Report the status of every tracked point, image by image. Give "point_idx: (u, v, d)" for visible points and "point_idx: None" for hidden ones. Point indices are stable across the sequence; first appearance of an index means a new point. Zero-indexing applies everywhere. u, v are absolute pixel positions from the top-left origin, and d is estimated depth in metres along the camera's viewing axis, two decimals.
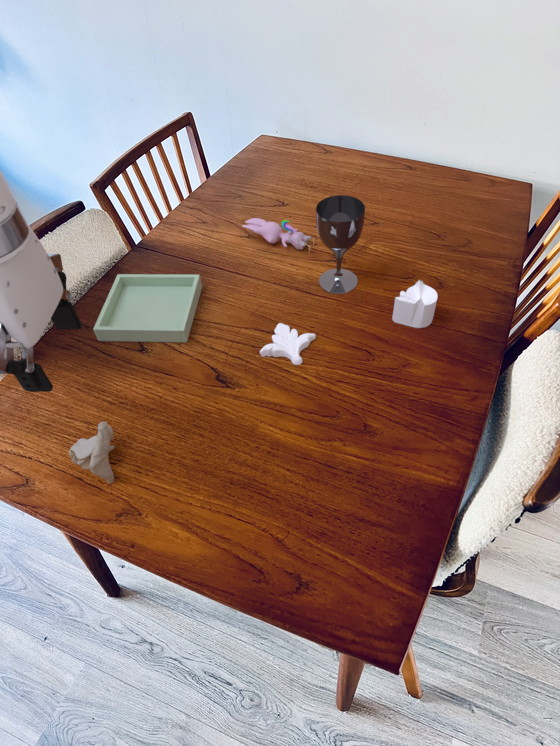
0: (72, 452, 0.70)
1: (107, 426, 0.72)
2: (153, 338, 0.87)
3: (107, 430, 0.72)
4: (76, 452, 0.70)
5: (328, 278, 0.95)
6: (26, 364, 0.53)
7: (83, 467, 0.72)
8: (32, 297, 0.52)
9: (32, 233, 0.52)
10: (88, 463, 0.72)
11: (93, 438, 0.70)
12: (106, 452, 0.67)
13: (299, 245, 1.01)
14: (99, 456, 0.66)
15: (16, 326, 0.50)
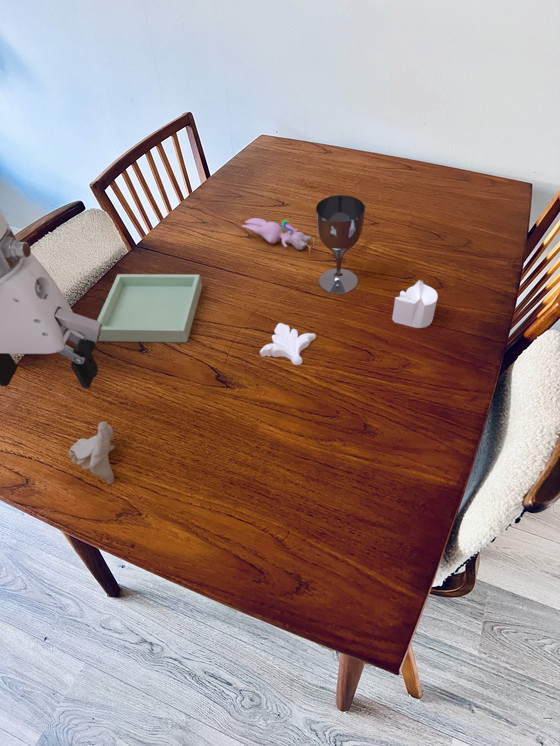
0: (72, 452, 0.70)
1: (107, 426, 0.72)
2: (153, 338, 0.87)
3: (107, 430, 0.72)
4: (76, 452, 0.70)
5: (328, 278, 0.95)
6: None
7: (83, 467, 0.72)
8: None
9: (15, 293, 0.47)
10: (88, 463, 0.72)
11: (93, 438, 0.70)
12: (106, 452, 0.67)
13: (299, 245, 1.01)
14: (99, 456, 0.66)
15: None
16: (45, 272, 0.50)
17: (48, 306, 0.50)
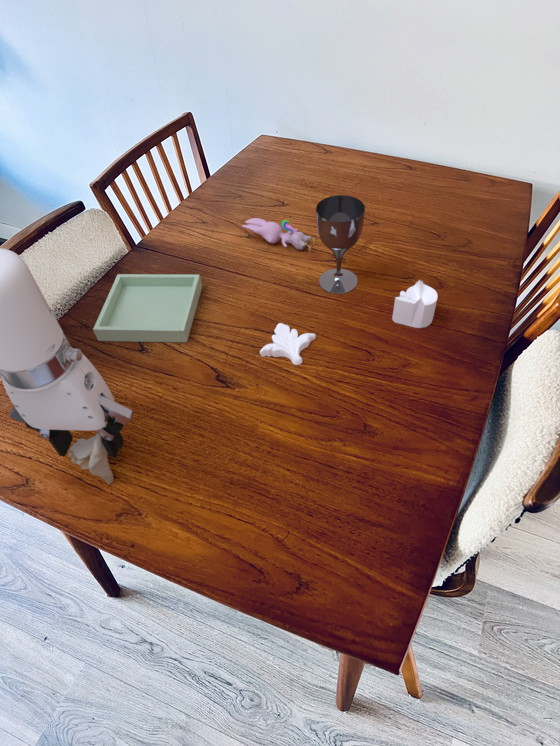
0: (71, 452, 0.70)
1: None
2: (153, 338, 0.87)
3: None
4: (75, 452, 0.70)
5: (328, 278, 0.95)
6: (41, 432, 0.65)
7: (83, 467, 0.72)
8: (39, 411, 0.60)
9: (69, 388, 0.56)
10: (88, 463, 0.72)
11: (92, 438, 0.70)
12: (105, 452, 0.67)
13: (299, 245, 1.01)
14: (98, 456, 0.66)
15: (17, 410, 0.61)
16: (91, 366, 0.59)
17: (94, 395, 0.59)
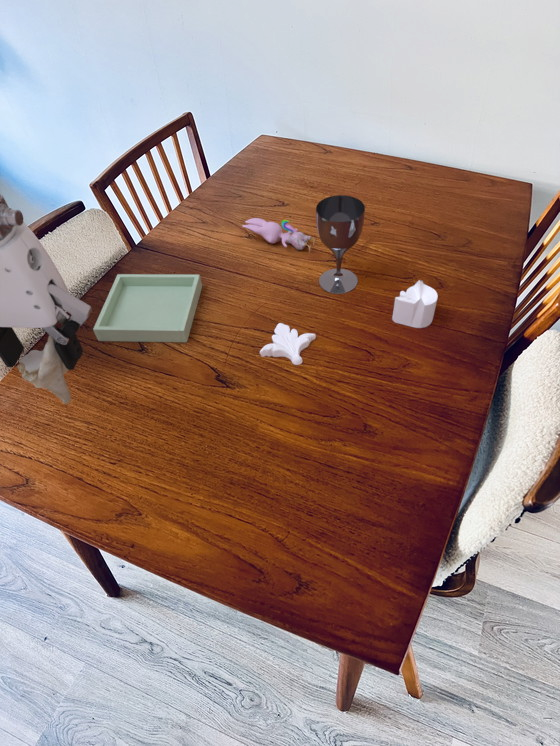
0: (22, 365, 0.60)
1: None
2: (153, 338, 0.87)
3: None
4: (26, 364, 0.59)
5: (328, 278, 0.95)
6: None
7: (36, 385, 0.62)
8: None
9: (6, 262, 0.46)
10: None
11: None
12: (59, 361, 0.56)
13: (299, 245, 1.01)
14: (49, 364, 0.55)
15: None
16: (38, 242, 0.48)
17: (41, 278, 0.49)
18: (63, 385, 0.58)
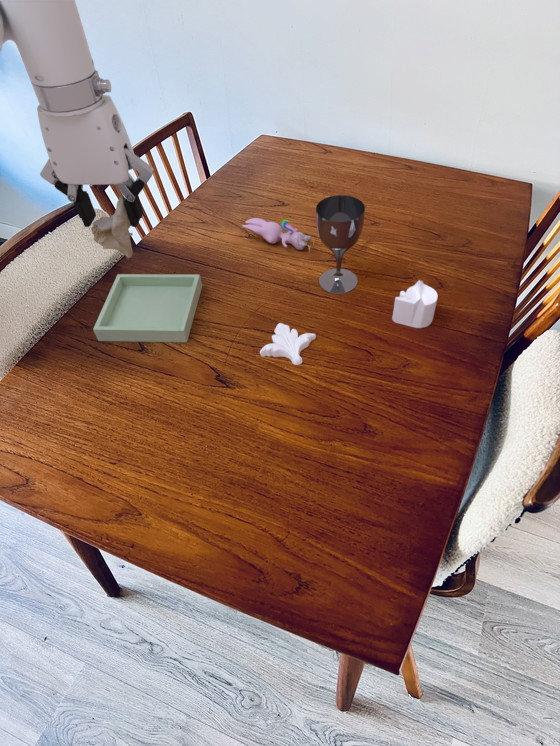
0: (94, 227, 0.77)
1: None
2: (153, 338, 0.87)
3: None
4: (98, 225, 0.76)
5: (328, 278, 0.95)
6: (69, 193, 0.72)
7: (104, 247, 0.78)
8: (70, 155, 0.66)
9: (98, 121, 0.63)
10: (109, 242, 0.78)
11: (114, 215, 0.77)
12: (126, 218, 0.73)
13: (299, 245, 1.01)
14: (120, 217, 0.72)
15: (49, 159, 0.67)
16: None
17: (120, 139, 0.66)
18: (128, 239, 0.75)
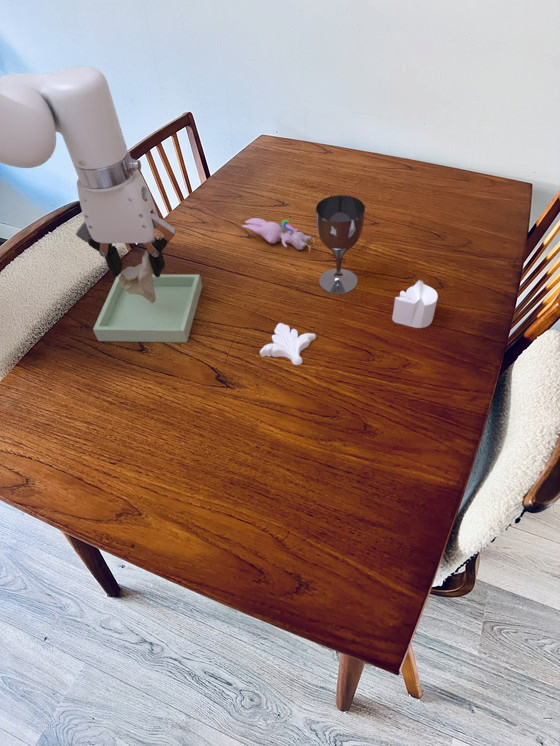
0: (122, 276, 0.87)
1: None
2: (153, 338, 0.87)
3: None
4: (125, 275, 0.86)
5: (328, 278, 0.95)
6: (100, 250, 0.82)
7: (130, 292, 0.89)
8: (104, 220, 0.76)
9: (130, 194, 0.73)
10: (134, 288, 0.88)
11: (139, 265, 0.87)
12: (151, 269, 0.83)
13: (299, 245, 1.01)
14: (146, 270, 0.82)
15: (85, 223, 0.77)
16: (145, 184, 0.75)
17: (147, 207, 0.76)
18: (152, 287, 0.85)
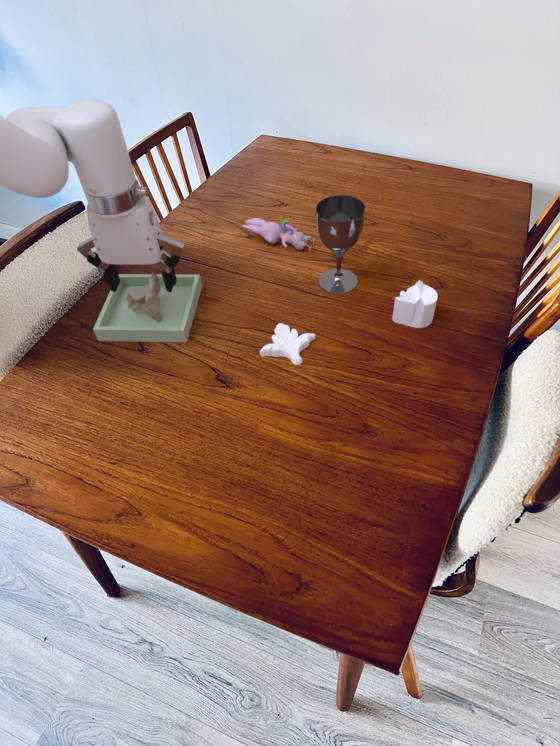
0: (129, 297, 0.90)
1: None
2: (153, 338, 0.87)
3: None
4: (132, 295, 0.89)
5: (328, 278, 0.95)
6: (99, 266, 0.84)
7: (136, 312, 0.92)
8: (112, 243, 0.79)
9: (138, 219, 0.76)
10: (140, 308, 0.91)
11: (145, 286, 0.90)
12: (157, 291, 0.87)
13: (299, 245, 1.01)
14: (152, 292, 0.85)
15: (94, 245, 0.80)
16: (152, 208, 0.79)
17: (154, 230, 0.79)
18: (158, 308, 0.88)
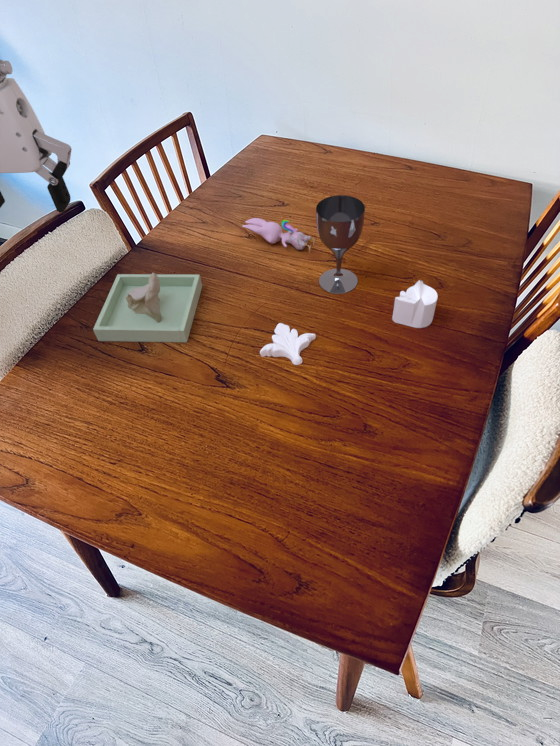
0: (129, 297, 0.90)
1: None
2: (153, 338, 0.87)
3: None
4: (132, 295, 0.89)
5: (328, 278, 0.95)
6: None
7: (136, 312, 0.92)
8: None
9: (0, 105, 0.60)
10: (140, 308, 0.91)
11: (145, 286, 0.90)
12: (157, 291, 0.87)
13: (299, 245, 1.01)
14: (152, 292, 0.85)
15: None
16: (24, 96, 0.62)
17: (27, 124, 0.63)
18: (158, 308, 0.88)
